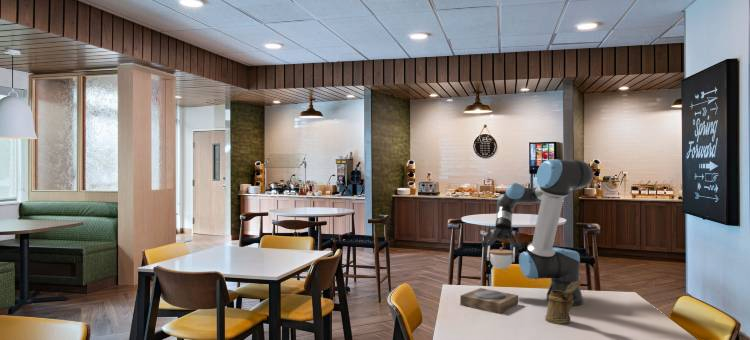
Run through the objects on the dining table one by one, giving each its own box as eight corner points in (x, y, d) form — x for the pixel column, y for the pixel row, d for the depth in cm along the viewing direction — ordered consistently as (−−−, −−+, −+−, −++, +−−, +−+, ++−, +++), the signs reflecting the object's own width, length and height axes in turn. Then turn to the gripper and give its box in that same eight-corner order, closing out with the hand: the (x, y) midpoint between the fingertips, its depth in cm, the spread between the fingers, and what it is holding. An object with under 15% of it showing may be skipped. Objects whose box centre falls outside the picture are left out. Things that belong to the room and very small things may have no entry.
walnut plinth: (518, 304, 219) (518, 294, 219) (499, 313, 205) (499, 302, 205) (480, 296, 230) (480, 287, 230) (460, 304, 216) (460, 294, 216)
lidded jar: (488, 269, 230) (489, 248, 230) (488, 264, 241) (489, 245, 241) (513, 270, 228) (513, 249, 228) (512, 266, 239) (512, 246, 239)
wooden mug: (568, 329, 187) (569, 280, 187) (540, 318, 199) (541, 273, 198) (584, 326, 191) (586, 278, 191) (556, 316, 203) (557, 271, 203)
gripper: (528, 228, 245) (527, 266, 231) (480, 226, 253) (475, 262, 238) (528, 218, 240) (527, 256, 226) (478, 216, 248) (474, 253, 233)
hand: (500, 259), depth 232 cm, fingers closed on lidded jar, 11 cm apart
